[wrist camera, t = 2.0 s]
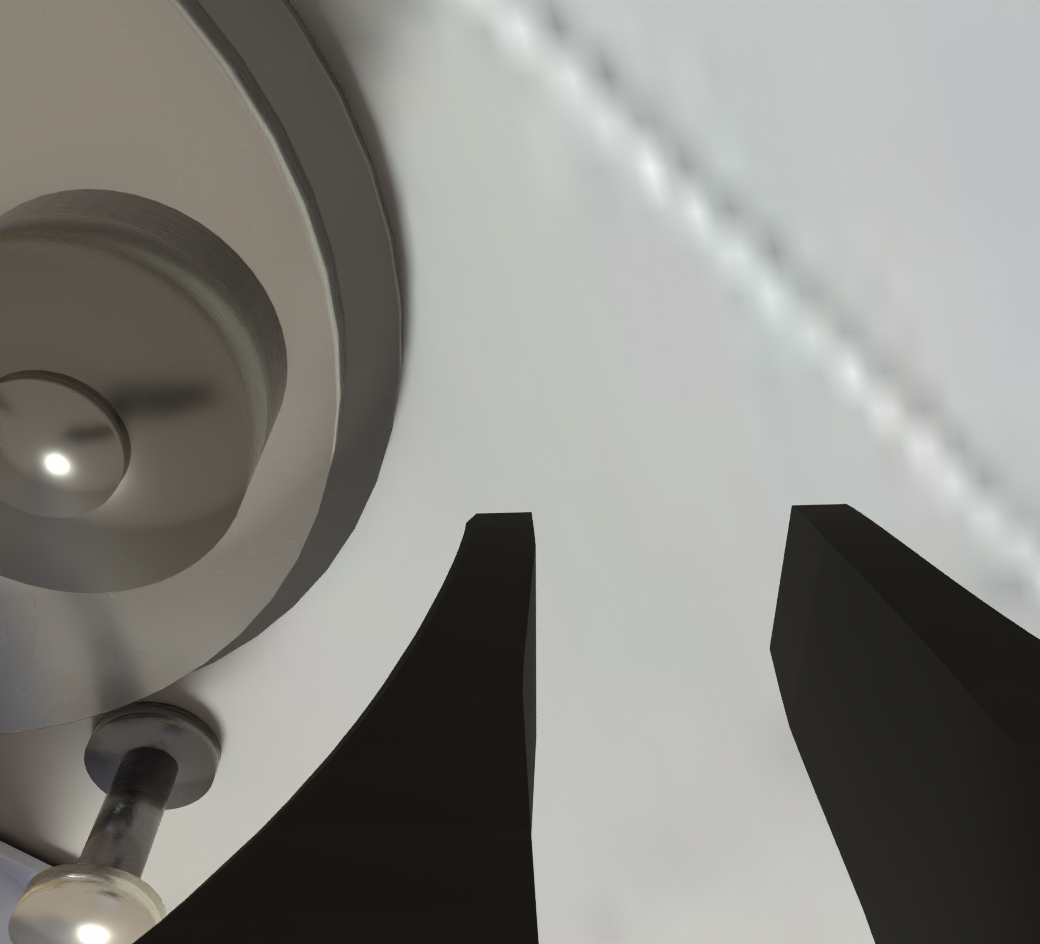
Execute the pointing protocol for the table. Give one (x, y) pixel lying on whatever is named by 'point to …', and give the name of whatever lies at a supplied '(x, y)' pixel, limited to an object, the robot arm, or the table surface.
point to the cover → (126, 390)
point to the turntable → (263, 247)
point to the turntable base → (359, 263)
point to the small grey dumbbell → (120, 829)
